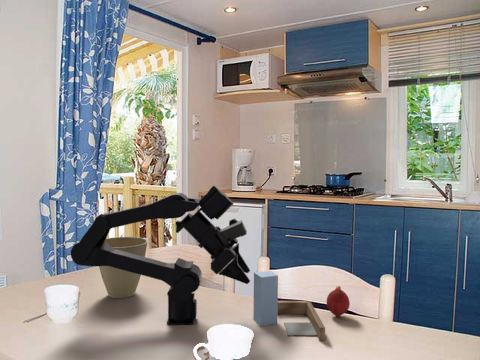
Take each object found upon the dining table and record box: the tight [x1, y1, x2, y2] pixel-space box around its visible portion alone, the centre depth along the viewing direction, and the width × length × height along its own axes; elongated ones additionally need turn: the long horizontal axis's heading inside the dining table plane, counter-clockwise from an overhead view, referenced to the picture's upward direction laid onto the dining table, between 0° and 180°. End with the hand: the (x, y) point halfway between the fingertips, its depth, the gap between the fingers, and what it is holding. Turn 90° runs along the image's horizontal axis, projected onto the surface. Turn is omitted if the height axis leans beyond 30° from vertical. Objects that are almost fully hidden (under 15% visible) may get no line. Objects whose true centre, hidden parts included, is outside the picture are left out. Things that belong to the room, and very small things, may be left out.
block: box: [252, 270, 279, 327], centre depth 100 cm, size 4×4×12 cm
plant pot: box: [98, 236, 148, 299], centre depth 119 cm, size 15×15×16 cm
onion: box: [326, 285, 351, 318], centre depth 104 cm, size 6×6×8 cm
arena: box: [278, 300, 326, 342], centre depth 98 cm, size 9×17×3 cm, turn 1°
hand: (248, 277), depth 100 cm, fingers open, 9 cm apart
